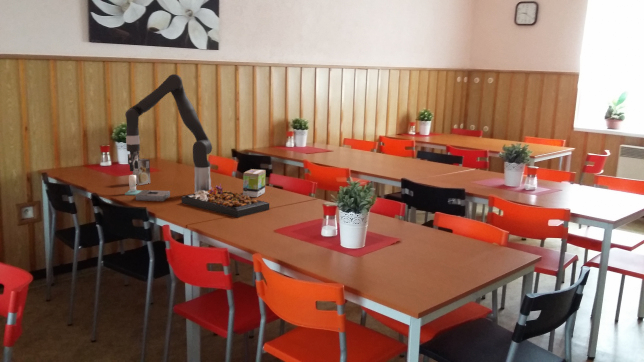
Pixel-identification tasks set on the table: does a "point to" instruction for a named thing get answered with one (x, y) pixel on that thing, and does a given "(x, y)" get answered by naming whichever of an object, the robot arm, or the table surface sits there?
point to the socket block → (152, 195)
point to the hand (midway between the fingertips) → (134, 169)
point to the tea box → (254, 182)
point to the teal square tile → (133, 192)
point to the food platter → (225, 202)
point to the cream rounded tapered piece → (132, 183)
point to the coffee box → (142, 172)
